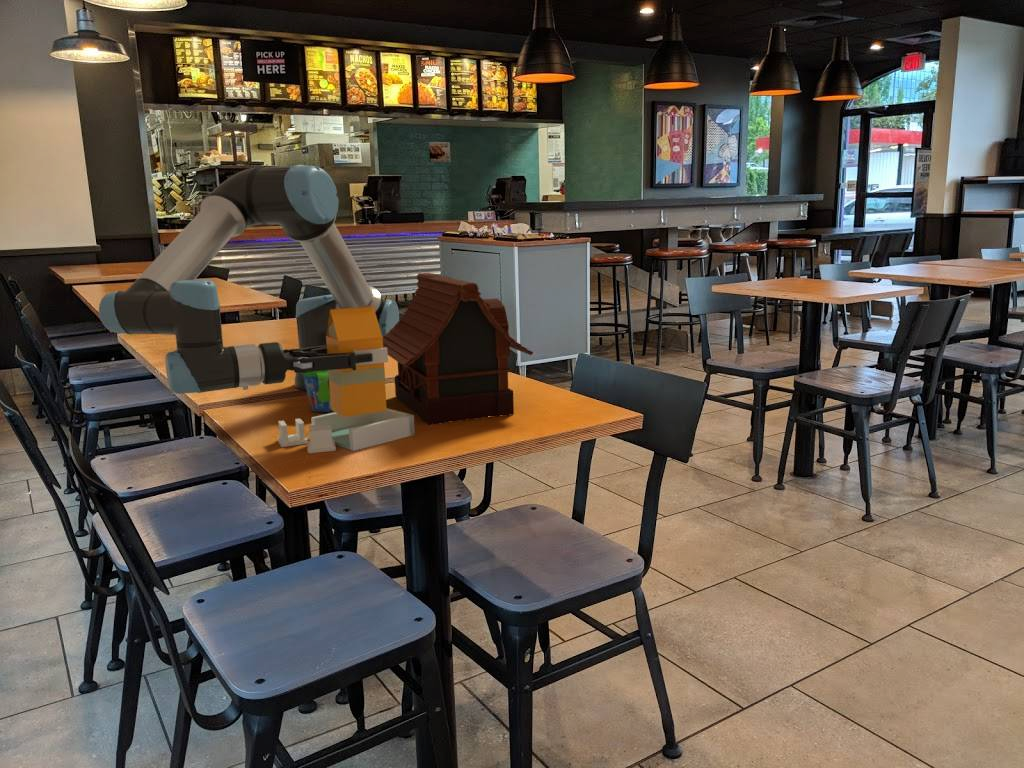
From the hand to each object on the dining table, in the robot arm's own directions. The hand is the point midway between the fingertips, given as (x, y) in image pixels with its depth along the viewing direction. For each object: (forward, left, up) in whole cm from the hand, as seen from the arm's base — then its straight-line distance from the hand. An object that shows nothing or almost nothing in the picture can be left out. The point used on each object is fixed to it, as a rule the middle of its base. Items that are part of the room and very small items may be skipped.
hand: (378, 351), depth 152 cm
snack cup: (-3, -26, -17) cm, 31 cm away
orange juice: (+5, -1, -11) cm, 12 cm away
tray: (+5, -1, -16) cm, 17 cm away
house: (-24, -8, -17) cm, 31 cm away
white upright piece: (+14, 0, -16) cm, 22 cm away
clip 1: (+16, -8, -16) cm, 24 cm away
